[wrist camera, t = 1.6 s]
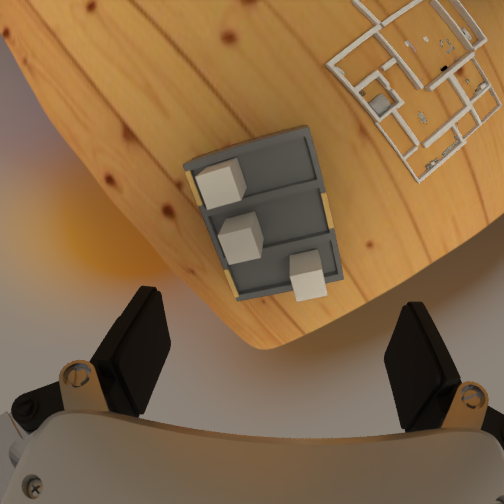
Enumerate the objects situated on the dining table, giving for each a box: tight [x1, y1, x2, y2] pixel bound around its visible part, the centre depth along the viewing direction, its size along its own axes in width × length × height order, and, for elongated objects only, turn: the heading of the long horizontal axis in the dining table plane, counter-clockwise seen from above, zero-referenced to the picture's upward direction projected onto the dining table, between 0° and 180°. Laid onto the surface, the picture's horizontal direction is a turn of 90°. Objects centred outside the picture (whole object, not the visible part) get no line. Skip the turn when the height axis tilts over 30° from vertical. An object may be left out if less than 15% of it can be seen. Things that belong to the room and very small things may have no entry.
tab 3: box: [290, 249, 328, 302], centre depth 29 cm, size 3×3×4 cm
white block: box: [218, 211, 264, 265], centre depth 28 cm, size 3×3×4 cm
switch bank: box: [183, 125, 344, 301], centre depth 30 cm, size 12×16×4 cm
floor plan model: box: [325, 0, 502, 183], centre depth 21 cm, size 19×25×2 cm
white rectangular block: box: [195, 157, 247, 210], centre depth 26 cm, size 3×3×4 cm
